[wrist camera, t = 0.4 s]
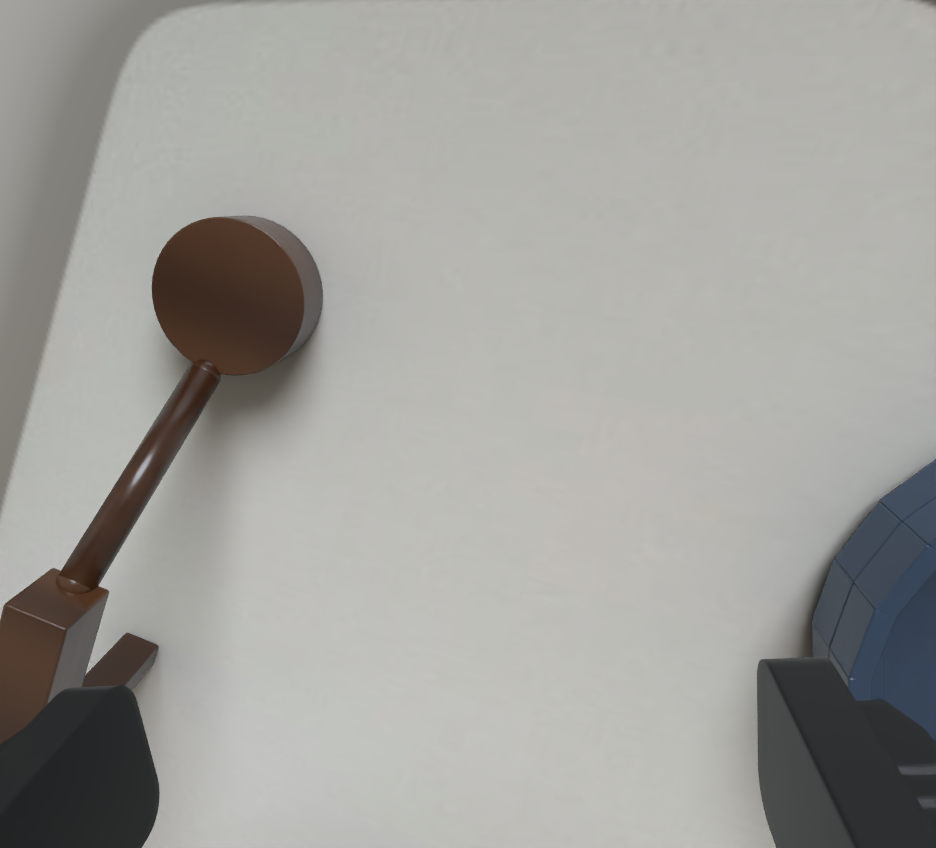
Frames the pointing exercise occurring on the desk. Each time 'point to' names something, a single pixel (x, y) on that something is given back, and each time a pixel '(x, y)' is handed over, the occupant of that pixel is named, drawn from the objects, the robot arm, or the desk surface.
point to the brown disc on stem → (160, 444)
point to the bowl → (886, 604)
